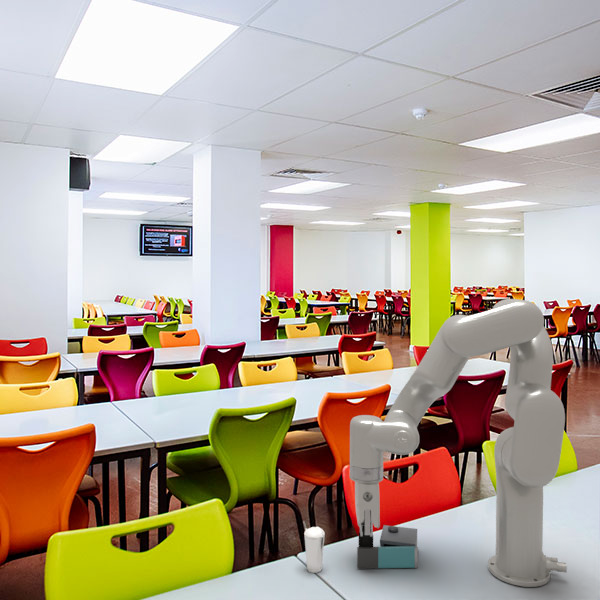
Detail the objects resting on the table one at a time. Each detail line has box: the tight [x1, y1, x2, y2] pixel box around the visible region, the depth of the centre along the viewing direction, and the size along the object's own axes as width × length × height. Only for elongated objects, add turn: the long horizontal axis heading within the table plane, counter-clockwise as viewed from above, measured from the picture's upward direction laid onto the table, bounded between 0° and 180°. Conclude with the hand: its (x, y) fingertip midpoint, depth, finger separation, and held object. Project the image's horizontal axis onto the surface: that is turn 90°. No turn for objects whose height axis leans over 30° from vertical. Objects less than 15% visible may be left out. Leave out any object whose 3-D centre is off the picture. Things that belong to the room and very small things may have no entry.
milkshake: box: [302, 520, 326, 574], centre depth 122 cm, size 5×5×10 cm
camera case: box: [379, 524, 418, 547], centre depth 128 cm, size 8×8×6 cm
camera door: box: [356, 545, 419, 569], centre depth 122 cm, size 14×1×4 cm, turn 92°
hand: (365, 551), depth 124 cm, fingers closed
